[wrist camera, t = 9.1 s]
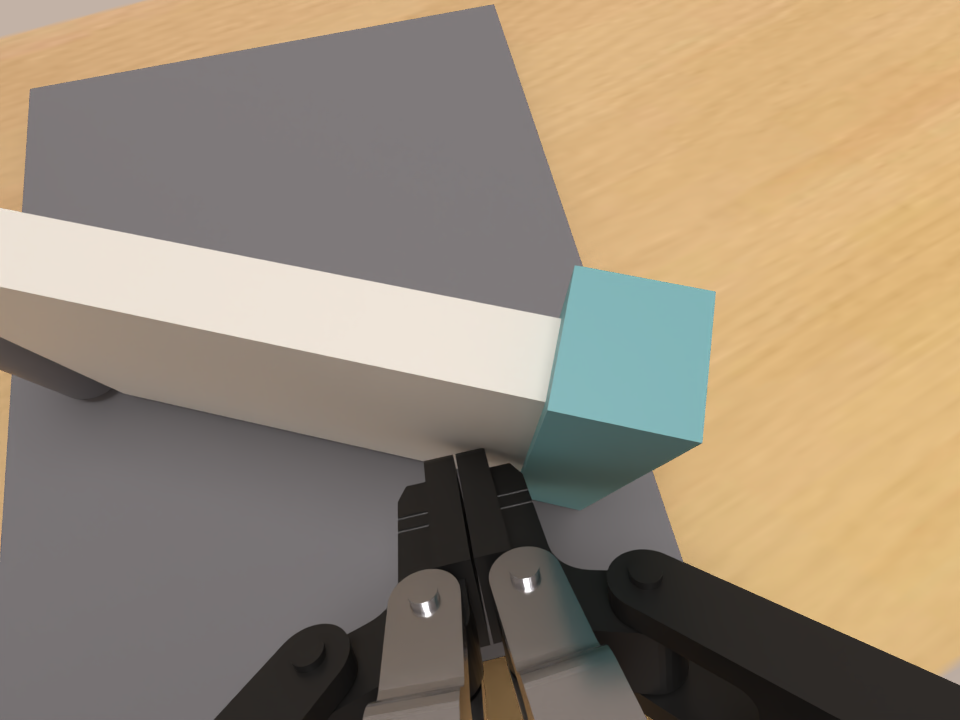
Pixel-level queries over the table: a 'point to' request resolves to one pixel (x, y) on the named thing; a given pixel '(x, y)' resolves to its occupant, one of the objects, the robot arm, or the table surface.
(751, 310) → the table surface
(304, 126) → the mat
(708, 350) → the cream barrier panel
